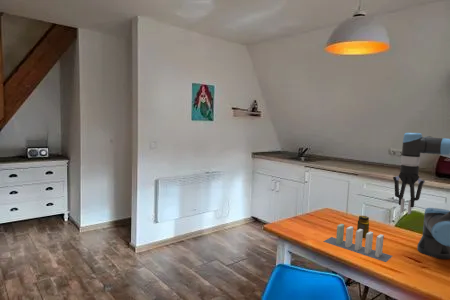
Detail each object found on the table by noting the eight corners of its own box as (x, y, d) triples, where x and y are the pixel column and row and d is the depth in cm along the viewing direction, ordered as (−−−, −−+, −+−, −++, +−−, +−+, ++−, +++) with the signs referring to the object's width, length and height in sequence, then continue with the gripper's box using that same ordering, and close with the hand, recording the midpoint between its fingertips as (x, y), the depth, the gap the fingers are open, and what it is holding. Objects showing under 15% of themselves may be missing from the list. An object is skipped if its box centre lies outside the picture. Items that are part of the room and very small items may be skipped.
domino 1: (343, 242, 167) (344, 224, 166) (338, 244, 163) (340, 226, 162) (340, 241, 168) (341, 223, 167) (335, 243, 164) (337, 225, 163)
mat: (392, 256, 151) (392, 255, 151) (385, 262, 144) (385, 262, 144) (331, 237, 174) (331, 236, 174) (322, 242, 167) (322, 241, 167)
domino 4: (371, 251, 156) (373, 232, 155) (367, 254, 153) (369, 234, 152) (368, 250, 157) (369, 231, 156) (364, 253, 154) (366, 233, 153)
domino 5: (382, 254, 153) (383, 235, 152) (378, 257, 149) (380, 237, 148) (378, 253, 154) (380, 234, 153) (374, 256, 150) (376, 236, 149)
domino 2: (352, 245, 163) (353, 226, 162) (348, 247, 160) (349, 229, 159) (349, 244, 164) (350, 226, 163) (345, 246, 161) (346, 228, 160)
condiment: (371, 238, 175) (372, 217, 174) (362, 240, 171) (364, 220, 170) (359, 233, 182) (361, 214, 180) (350, 236, 177) (352, 216, 176)
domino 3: (361, 248, 160) (363, 229, 159) (357, 250, 156) (359, 231, 155) (358, 247, 161) (360, 228, 160) (354, 249, 157) (356, 230, 156)
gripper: (431, 166, 144) (426, 215, 146) (394, 162, 155) (390, 207, 157) (426, 167, 139) (422, 218, 141) (389, 163, 150) (385, 210, 152)
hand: (405, 212), depth 149 cm, fingers open, 3 cm apart
